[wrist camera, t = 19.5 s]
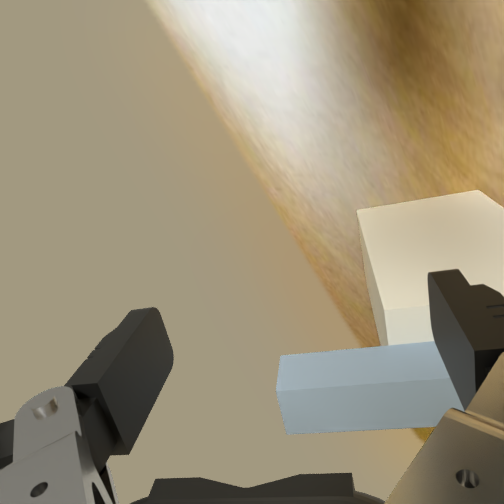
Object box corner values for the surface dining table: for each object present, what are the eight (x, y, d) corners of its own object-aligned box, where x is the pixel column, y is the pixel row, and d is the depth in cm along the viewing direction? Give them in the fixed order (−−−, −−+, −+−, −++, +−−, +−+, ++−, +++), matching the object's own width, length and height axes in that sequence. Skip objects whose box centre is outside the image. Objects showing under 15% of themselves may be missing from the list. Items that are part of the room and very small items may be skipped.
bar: (280, 355, 32) (275, 391, 29) (674, 318, 27) (731, 356, 23) (290, 395, 34) (286, 434, 30) (666, 368, 28) (717, 412, 25)
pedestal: (356, 210, 51) (384, 310, 30) (478, 189, 48) (610, 284, 26) (365, 281, 55) (397, 417, 33) (480, 266, 52) (597, 406, 30)
